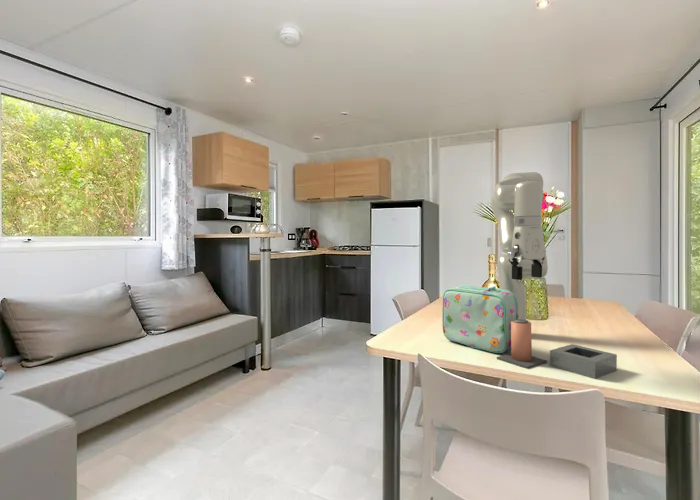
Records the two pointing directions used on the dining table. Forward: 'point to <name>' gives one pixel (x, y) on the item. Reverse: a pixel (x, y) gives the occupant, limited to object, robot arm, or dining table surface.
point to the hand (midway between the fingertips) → (526, 278)
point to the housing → (583, 360)
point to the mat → (524, 364)
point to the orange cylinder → (521, 340)
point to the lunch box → (479, 317)
